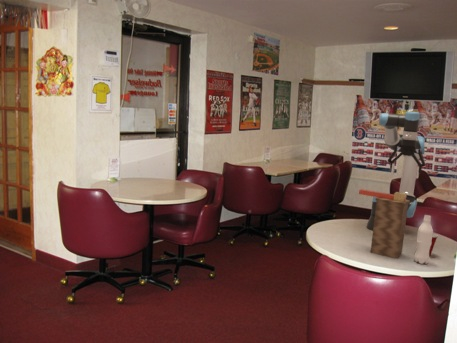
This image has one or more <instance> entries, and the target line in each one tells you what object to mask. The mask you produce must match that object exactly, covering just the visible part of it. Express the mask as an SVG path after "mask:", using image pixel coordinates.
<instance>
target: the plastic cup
mask: <svg viewBox="0 0 457 343" xmlns="http://www.w3.org/2000/svg"><path fill="white" fill-rule="evenodd" d="M416 234H417V236H418V231H417V232H416ZM438 237H439V235H438V234H435V233H433V235H432V244H431V246H430V250H429V257H431V256H432V252H433V249H434V246H435V244H436V241H437V239H438Z"/></svg>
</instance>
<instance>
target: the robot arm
mask: <svg viewBox="0 0 457 343" xmlns="http://www.w3.org/2000/svg"><path fill="white" fill-rule="evenodd" d="M420 116H421V114H420V112H419V111H406V112H405V114H399V113H391V112H390V113H388V112H386V113H385V112H382V113H380V115H379V120H378V124H379V126H382V127H383V130H384V138H383V139H384V143H385V145H386V146H387V147H388V148H390V149H391V150H392V151H393V152H392V153H391V155H390V156H389V158H388V159H387V162H388V163H390V166H389V168H390V170H391V173H390V176H393V175H394V173H395V165H396V163H395V162H396V161H397V160H398V159H399V158H401V157H402V156H403V157H404V160H403V163H402V164H403V165H402V170H401V171H402V173H401V178H400V186H399V191H398V192H401V193H407V195H406V200H410V203H408V210H407V217H406V218H408V219H409V218H413V217H414V215H415V212H416V208H417V205H418V200H417V199H416V196H415V195H414V192H415V191H414V190H415V186H416V180H417V179H419V176H420V173H422V169H423V168H422V167H425V166H427V165H426V162H425V159H424V156H423V155H425V138H424V136H419V135H418V130H419V126H420V123H421V119H420ZM398 128H403V130H402V134H399V132H398ZM397 153H398V155H397V156H396V157H394V156H395V155H396V154H397ZM376 198H378V197H373V196H372V200H371V202H372V203H371V211H370V217H369V218H368V221H367V222H366V228H367V229H369V230H371V231H373V227H374V219H375V211H376V203H377V201H376Z"/></svg>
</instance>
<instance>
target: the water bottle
mask: <svg viewBox="0 0 457 343" xmlns="http://www.w3.org/2000/svg"><path fill="white" fill-rule="evenodd" d="M431 219H432V216H431V215H429V214H424V217H423V221H422V223H421V224H420V226H419V227H418V229H417V232H418V235H417V237H416V240H415V241H416V251H415V253H414V260H415V262H416V263H418V264H420V265H423V264H424V265H427V264H428V263H429V261H430V257H431V256H429V250H430V246H431V244H432V235H433V234H434V230H433V227H432V224H431V221H432V220H431Z"/></svg>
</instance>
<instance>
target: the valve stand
mask: <svg viewBox="0 0 457 343" xmlns="http://www.w3.org/2000/svg"><path fill="white" fill-rule="evenodd" d="M376 201H377V203H376V211H375V219H374V227H373V230H372V238H371V244H370V245H371V247H370V253H371V254H375V255H379V256H385V257H389V258H392V259H399V257H401V255H402V254H403V246H404V238H405V233H406V232H405V231H406V226H407V225H406V223H407V218H408V217H407V210H408V203H410V200H406V201H404V202H400V201H394V200H390V199H384V198H379V197H378V198H376Z"/></svg>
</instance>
